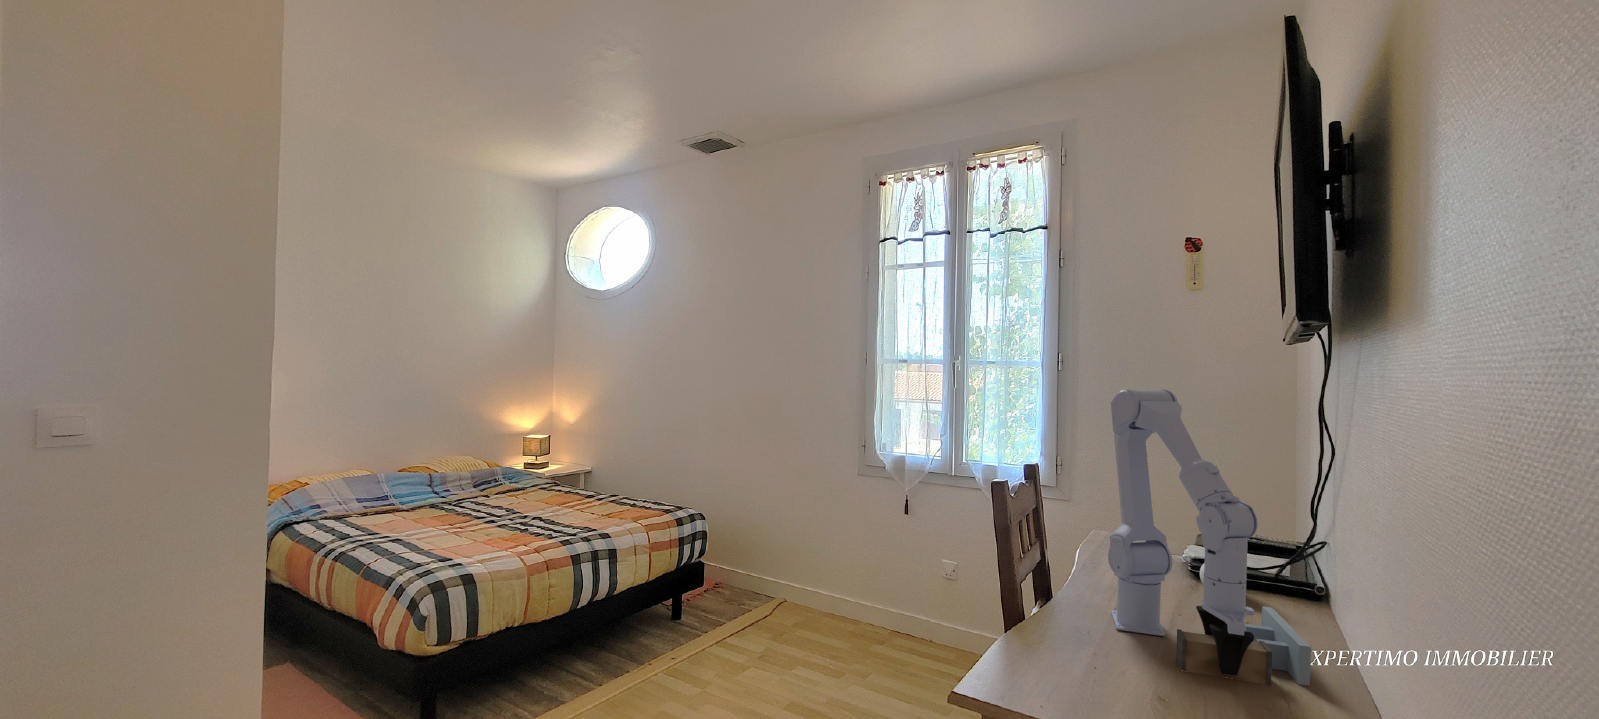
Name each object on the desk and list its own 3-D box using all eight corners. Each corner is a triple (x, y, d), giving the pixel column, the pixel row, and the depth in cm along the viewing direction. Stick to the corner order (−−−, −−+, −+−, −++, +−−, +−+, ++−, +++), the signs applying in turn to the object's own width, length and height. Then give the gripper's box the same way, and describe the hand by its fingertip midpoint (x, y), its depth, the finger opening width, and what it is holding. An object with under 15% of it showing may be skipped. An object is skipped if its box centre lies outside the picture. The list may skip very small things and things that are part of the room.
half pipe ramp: (1181, 671, 108) (1182, 638, 108) (1176, 660, 112) (1177, 628, 112) (1271, 685, 104) (1272, 651, 104) (1262, 673, 108) (1263, 641, 108)
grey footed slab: (1235, 636, 123) (1236, 603, 123) (1270, 641, 121) (1271, 607, 121) (1267, 679, 106) (1269, 640, 106) (1309, 685, 104) (1310, 646, 104)
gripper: (1269, 596, 100) (1266, 688, 100) (1240, 568, 114) (1238, 649, 114) (1214, 589, 102) (1211, 679, 102) (1192, 563, 116) (1190, 642, 116)
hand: (1222, 663), depth 108 cm, fingers open, 7 cm apart
